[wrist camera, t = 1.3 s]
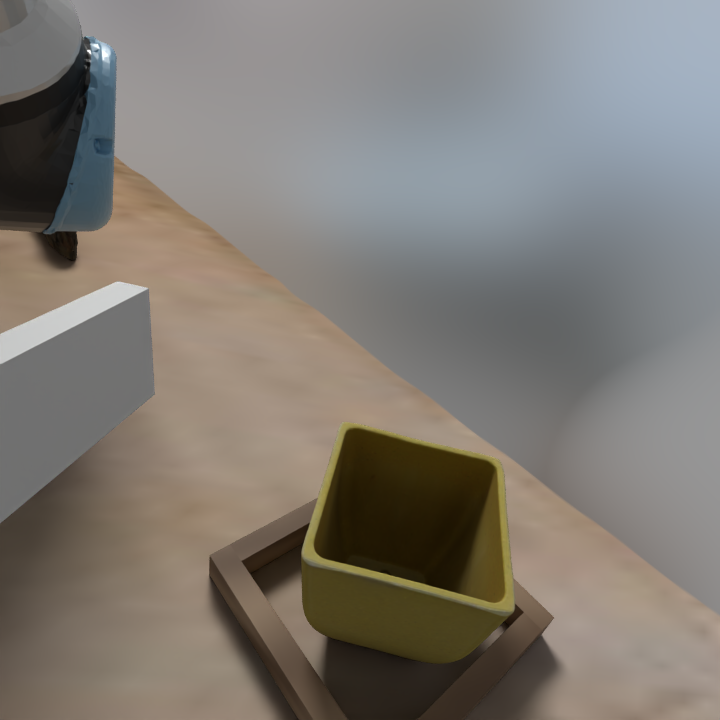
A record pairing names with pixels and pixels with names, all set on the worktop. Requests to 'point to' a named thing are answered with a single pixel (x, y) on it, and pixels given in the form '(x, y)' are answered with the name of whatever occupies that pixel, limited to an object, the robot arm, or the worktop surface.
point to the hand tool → (64, 243)
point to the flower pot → (408, 547)
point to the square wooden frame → (289, 663)
